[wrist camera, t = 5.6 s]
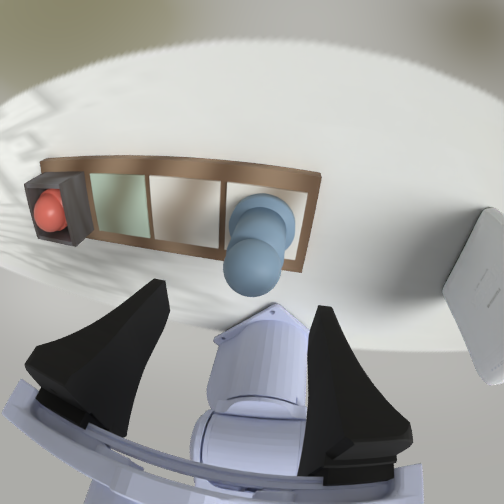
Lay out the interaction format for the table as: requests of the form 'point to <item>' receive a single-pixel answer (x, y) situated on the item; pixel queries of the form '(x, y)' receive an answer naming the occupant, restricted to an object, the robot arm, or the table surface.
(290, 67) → the table surface
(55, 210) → the dome
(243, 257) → the pawn
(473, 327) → the photo printer
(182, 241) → the game board
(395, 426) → the robot arm
